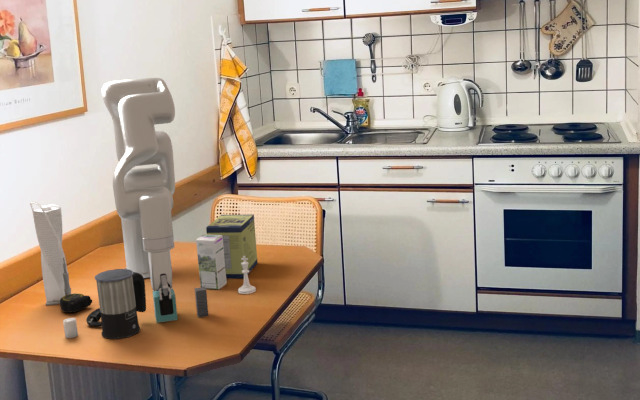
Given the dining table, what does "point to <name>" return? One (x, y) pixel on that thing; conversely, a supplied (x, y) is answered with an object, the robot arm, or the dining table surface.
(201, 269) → the syrup box
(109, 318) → the milk frother
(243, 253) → the protein box
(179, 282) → the dining table surface
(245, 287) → the chess piece
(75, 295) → the tape measure
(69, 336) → the short round post
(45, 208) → the skyscraper
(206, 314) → the post
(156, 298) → the teal rectangular block
